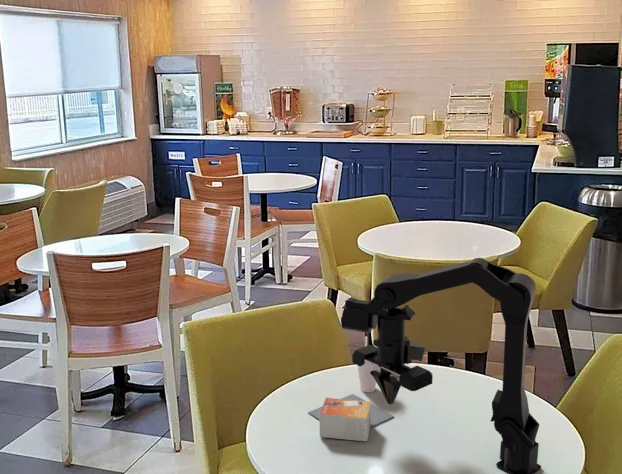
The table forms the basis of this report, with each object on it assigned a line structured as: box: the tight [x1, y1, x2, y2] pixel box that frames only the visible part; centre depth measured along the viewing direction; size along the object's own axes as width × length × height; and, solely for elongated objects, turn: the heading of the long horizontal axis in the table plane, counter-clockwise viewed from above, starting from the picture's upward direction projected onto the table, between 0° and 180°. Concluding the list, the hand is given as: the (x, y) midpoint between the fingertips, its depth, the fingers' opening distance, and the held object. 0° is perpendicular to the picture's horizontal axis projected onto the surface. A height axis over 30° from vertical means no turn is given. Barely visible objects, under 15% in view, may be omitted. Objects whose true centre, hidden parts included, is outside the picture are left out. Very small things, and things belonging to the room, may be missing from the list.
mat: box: [307, 393, 395, 429], centre depth 160 cm, size 14×14×1 cm
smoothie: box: [356, 336, 377, 393], centre depth 171 cm, size 6×6×14 cm
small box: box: [319, 397, 373, 442], centre depth 152 cm, size 8×6×10 cm
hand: (390, 403), depth 148 cm, fingers closed
